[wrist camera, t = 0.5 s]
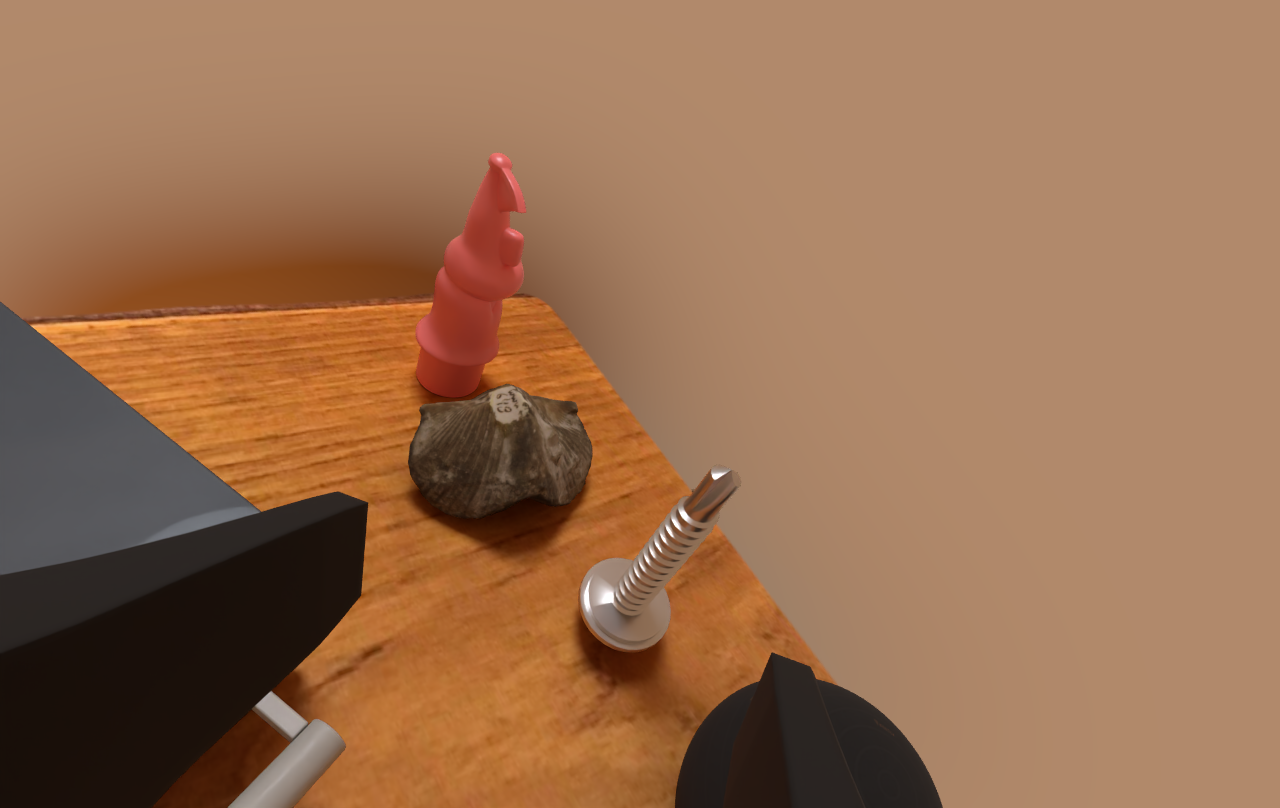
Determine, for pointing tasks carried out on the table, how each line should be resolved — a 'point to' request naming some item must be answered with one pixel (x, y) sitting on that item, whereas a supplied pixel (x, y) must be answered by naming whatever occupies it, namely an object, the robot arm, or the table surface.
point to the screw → (652, 570)
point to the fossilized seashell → (499, 452)
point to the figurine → (473, 288)
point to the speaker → (868, 739)
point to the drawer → (291, 757)
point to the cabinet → (87, 464)
